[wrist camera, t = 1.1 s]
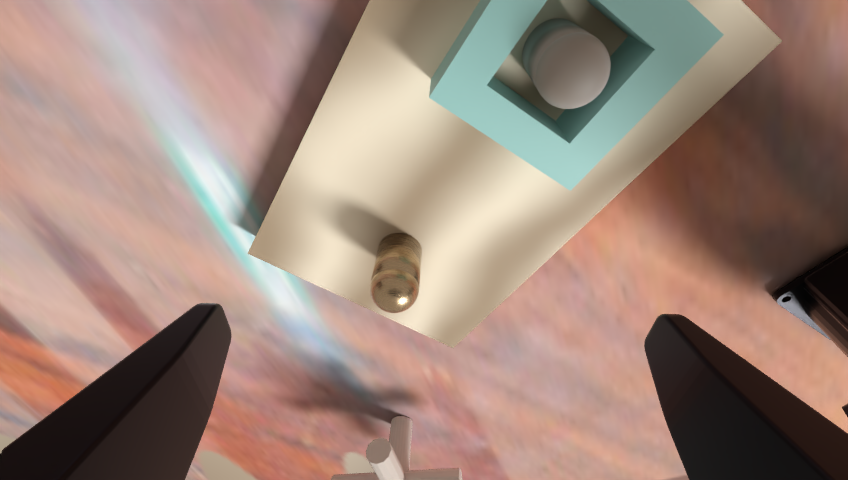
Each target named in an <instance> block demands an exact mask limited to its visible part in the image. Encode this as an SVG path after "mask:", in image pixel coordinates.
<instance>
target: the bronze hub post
mask: <svg viewBox="0 0 848 480" xmlns="http://www.w3.org/2000/svg"><path fill="white" fill-rule="evenodd" d="M421 258H422V248H421V245H420V243H419V242H418V241H417V240H416V239H415V238H414V237H412V236H410V235H408V234H405V233H393V234H389V235H387V236H386V237H384V238H383V239H382V240H381V241H380V243H379V246H378V251H377V255H376V260H375V264H374V269H373V274H372V278H371V283H370V295H371V298H372V300H373V302H374V303H375V304H376V306H377V307H379V308H380V309H381V310H383V311H385V312H389V313H400V312H403V311H405V310H407V309H409V308H410V307H411V306H412V305H413V304H414V303H415V301H416V299H417V297H418V293H419V284H420V271H421Z"/></svg>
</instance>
